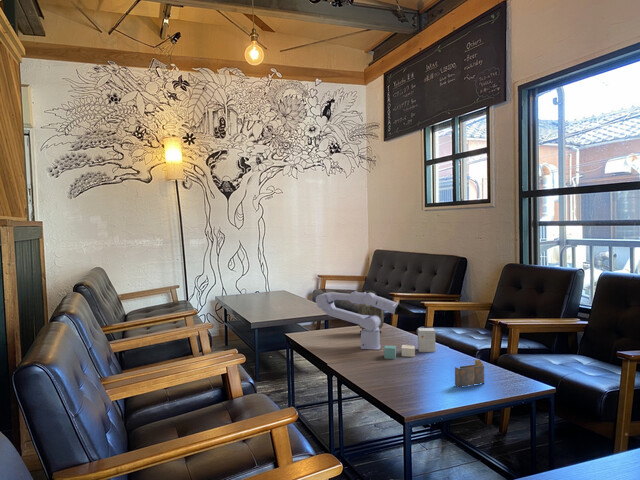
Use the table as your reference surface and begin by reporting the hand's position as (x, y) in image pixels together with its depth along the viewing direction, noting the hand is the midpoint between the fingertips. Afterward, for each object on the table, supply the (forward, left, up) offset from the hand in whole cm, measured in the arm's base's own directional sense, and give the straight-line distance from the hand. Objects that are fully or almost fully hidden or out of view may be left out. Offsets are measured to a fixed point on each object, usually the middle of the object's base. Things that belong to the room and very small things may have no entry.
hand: (412, 314), depth 220 cm
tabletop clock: (-24, +31, -19) cm, 44 cm away
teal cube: (-10, -11, -19) cm, 24 cm away
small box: (+7, +4, -19) cm, 20 cm away
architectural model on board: (+23, -42, -19) cm, 51 cm away
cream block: (-2, -4, -19) cm, 19 cm away
